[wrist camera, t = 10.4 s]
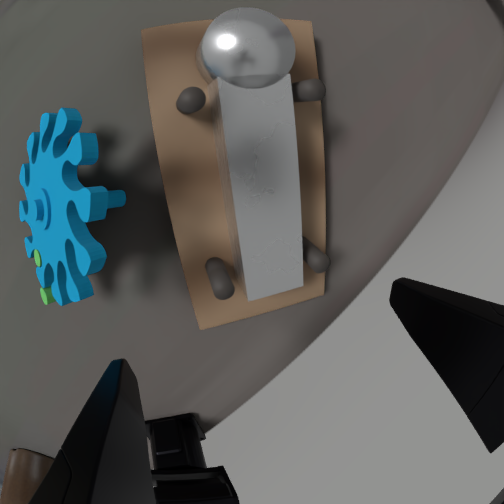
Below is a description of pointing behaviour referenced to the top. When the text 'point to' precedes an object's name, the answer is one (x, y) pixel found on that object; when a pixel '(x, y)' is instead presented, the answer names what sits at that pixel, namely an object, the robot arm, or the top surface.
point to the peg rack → (208, 178)
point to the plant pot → (23, 475)
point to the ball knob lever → (256, 146)
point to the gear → (63, 207)
